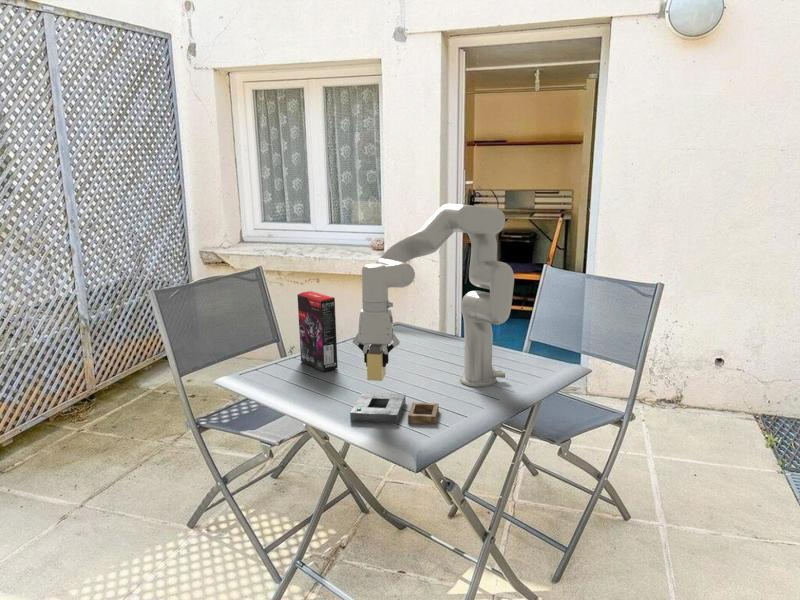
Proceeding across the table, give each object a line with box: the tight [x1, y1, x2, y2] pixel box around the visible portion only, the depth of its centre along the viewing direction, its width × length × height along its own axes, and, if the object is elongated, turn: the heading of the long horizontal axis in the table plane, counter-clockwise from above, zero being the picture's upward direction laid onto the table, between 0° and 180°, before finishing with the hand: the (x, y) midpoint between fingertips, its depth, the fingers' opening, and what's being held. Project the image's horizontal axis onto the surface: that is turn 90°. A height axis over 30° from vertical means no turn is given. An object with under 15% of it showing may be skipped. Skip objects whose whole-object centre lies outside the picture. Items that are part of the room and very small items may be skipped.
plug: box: [366, 344, 387, 382], centre depth 179 cm, size 4×6×10 cm
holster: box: [407, 402, 440, 426], centre depth 179 cm, size 8×10×2 cm
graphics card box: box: [296, 290, 338, 372], centre depth 223 cm, size 17×7×27 cm, turn 40°
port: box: [349, 391, 407, 425], centre depth 183 cm, size 14×16×3 cm
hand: (376, 364), depth 179 cm, fingers closed on plug, 4 cm apart
